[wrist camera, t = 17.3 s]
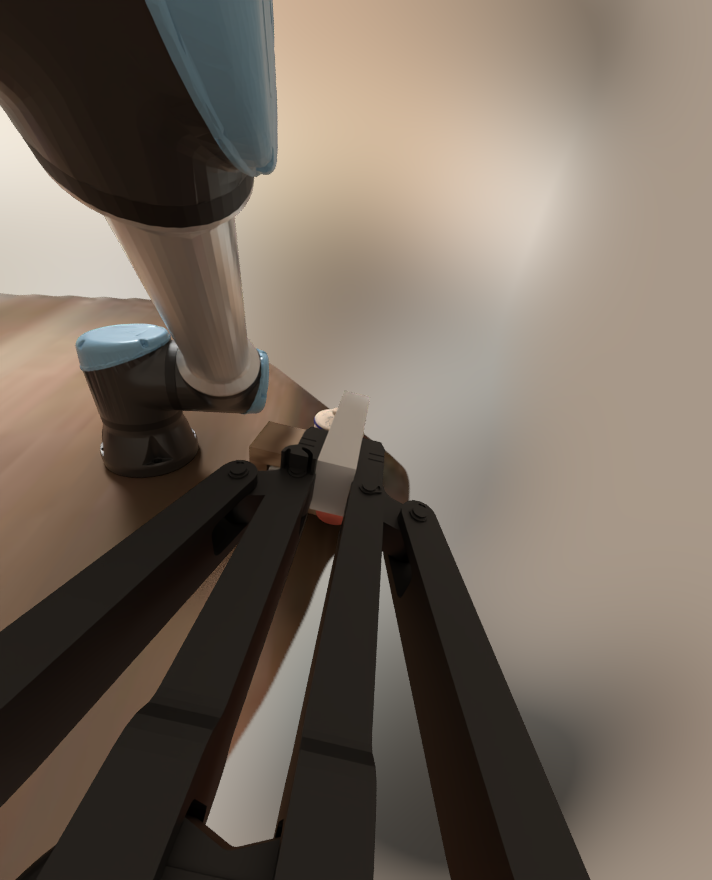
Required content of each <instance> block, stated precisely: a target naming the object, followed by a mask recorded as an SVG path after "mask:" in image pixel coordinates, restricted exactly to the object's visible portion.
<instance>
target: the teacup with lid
mask: <svg viewBox="0 0 712 880" xmlns="http://www.w3.org/2000/svg"><path fill="white" fill-rule="evenodd" d="M337 409H338V408H334V409H333V410H323V411H320V412H319V413H318V414H317V415H316V416H315V418H314V423H315V425H314V427H316V428H320V429H324V430H328V431H329V429H330V427H331V424H332V422H333V419H334V417H335V414H336V412H337ZM363 436H364V432H363ZM362 438H363V437H362Z"/></svg>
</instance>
